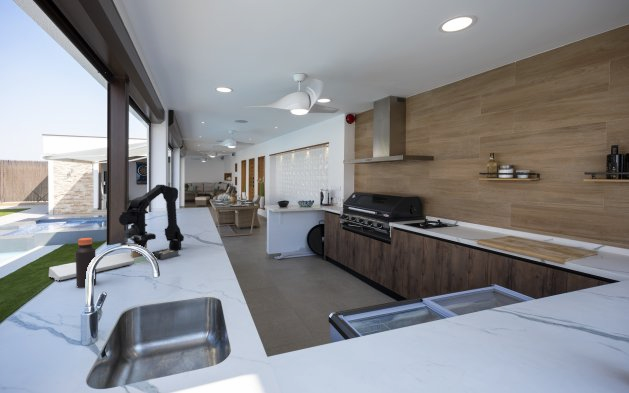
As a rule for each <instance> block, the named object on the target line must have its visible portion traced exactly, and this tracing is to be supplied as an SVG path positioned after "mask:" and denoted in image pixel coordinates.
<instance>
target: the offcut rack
mask: <svg viewBox="0 0 629 393" xmlns="http://www.w3.org/2000/svg"><path fill="white" fill-rule="evenodd" d="M167 250H170V251H173V252H169V251H167ZM163 251H167V252H169V253H165V252H163ZM151 252H152V253H153V254H154V256H155V257H156V258H157V259H156V260H158V261H166V260H169V259H170V260H171V259H173V258H177V257H181V255H179V250H177V251H175V250H171V249H169V248H164V249H160V250H155V251H151ZM159 252H163V253H165V254H163V253H159Z"/></svg>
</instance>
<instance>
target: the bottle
mask: <svg viewBox="0 0 629 393" xmlns="http://www.w3.org/2000/svg"><path fill="white" fill-rule="evenodd" d="M77 242H78V243H77V244H78V248H77V249H76V251H75V262H76V277H75V278H76V280H75V282H76V287H77V286H78V287H85V279H86V271H87V267H88V265H89V263H90V262H91V260H92V259H93V258H94V257H96V249H95V248H94V247H93V246H92V245H93V238H92V237H84V238H83V237H82V238H78V239H77ZM96 285H97V272H96V269H95V279H94V286H96ZM78 287H77V288H78Z"/></svg>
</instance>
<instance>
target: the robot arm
mask: <svg viewBox="0 0 629 393" xmlns="http://www.w3.org/2000/svg"><path fill="white" fill-rule="evenodd" d="M160 195H162V196H163V199H164V201H165V202H166V214H167V227H166V228H164V236H165V238H166V241H167V242H169V243H168V250H169V249H171V250H175V251H177V250H178V251H183V248H182V242H183V241H184V240H185V236H184V235H183V234H182V233H181V228H180V227H179V226H178V222H177V221H178V218H177V206H176V205H177V204H176V203H177V202H176V201H177V200H178V198H179V190H178V188H177V187H174V186H173V187H171V186H168V185H165V184H156V185H155V186H154V187H153V188H152V189H150V190H149V191H148V192H146V193H145V194H143V195H142V196H139V197H136V198H133V199H131V201H130V204H129V205H128V207H127V209H126V211H122V212H121V214H120V216H119V217H118V222H119V224H120V225H122V226H129V225H130V228H127V229H125V230H124V231H122V232H121V234H122V236H123V239H127V240H130V241H132V242H133V243H139V245H141V246H143V247H145V245H146V243H147V244H148V241H151V240H156V237H157V236H156V234H155V233H151V232H148V231H146V227H147V226H148V223H146V214H149V211H147V209H148V207H149V206H150V205H151V204H150V203H151V202H152V201H153V200H155V199H156V198H157V197H159V196H160Z"/></svg>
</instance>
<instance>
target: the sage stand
mask: <svg viewBox="0 0 629 393" xmlns="http://www.w3.org/2000/svg"><path fill="white" fill-rule="evenodd" d="M133 260H136V261H134V263H133V264H132V265H140V264H144V263H148V262H149V261H148V260H147V259H146V257H144V256H140V257H136V258H133Z"/></svg>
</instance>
